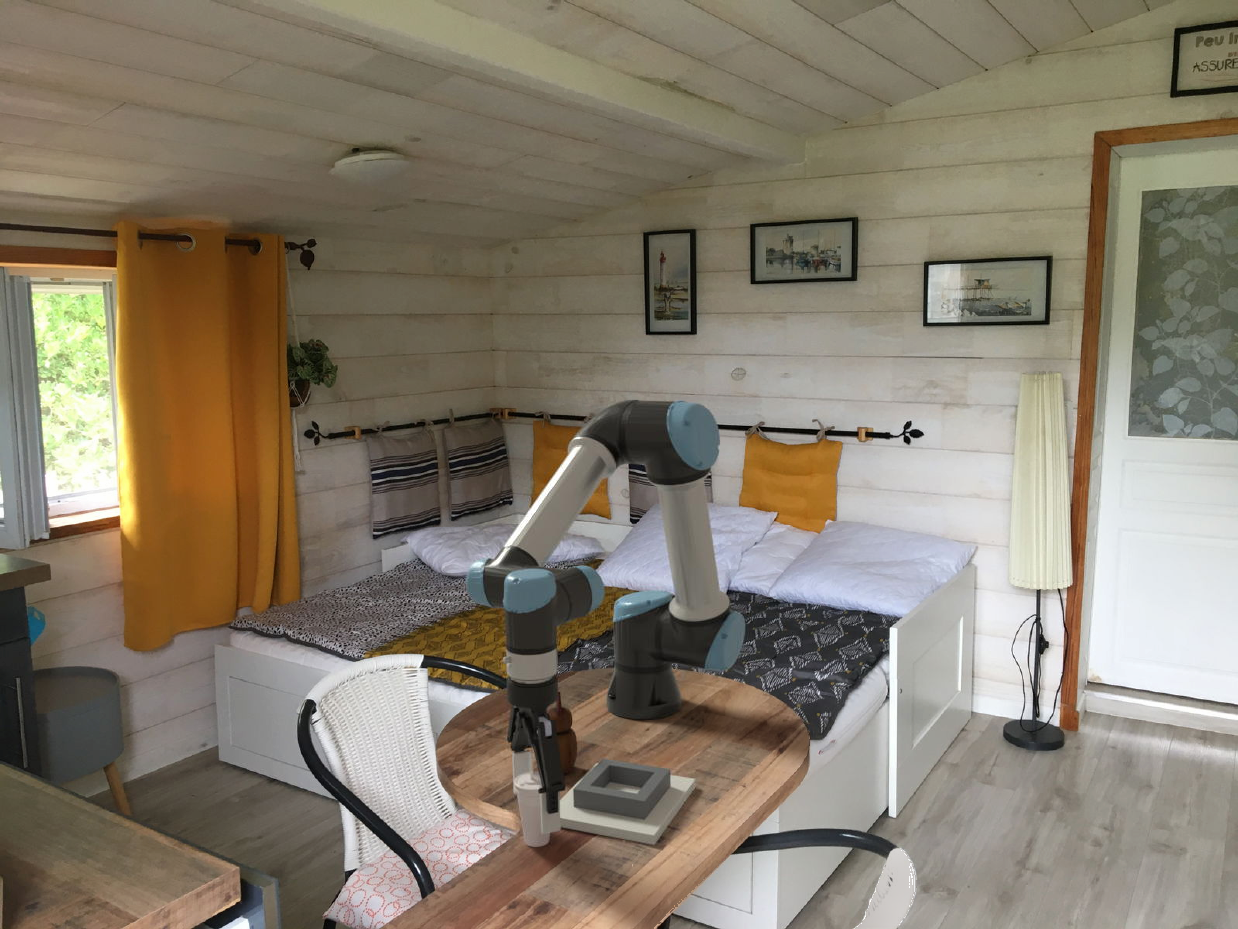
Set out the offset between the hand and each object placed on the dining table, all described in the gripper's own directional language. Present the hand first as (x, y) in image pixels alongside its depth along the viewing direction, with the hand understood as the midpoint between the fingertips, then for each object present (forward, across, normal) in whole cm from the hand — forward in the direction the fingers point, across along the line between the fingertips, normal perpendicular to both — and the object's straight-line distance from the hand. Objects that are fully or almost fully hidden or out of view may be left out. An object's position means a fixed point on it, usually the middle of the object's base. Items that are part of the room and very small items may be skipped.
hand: (536, 811), depth 154 cm
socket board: (+5, -5, +16) cm, 18 cm away
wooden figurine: (+5, -21, +11) cm, 25 cm away
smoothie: (+5, 0, 0) cm, 5 cm away
